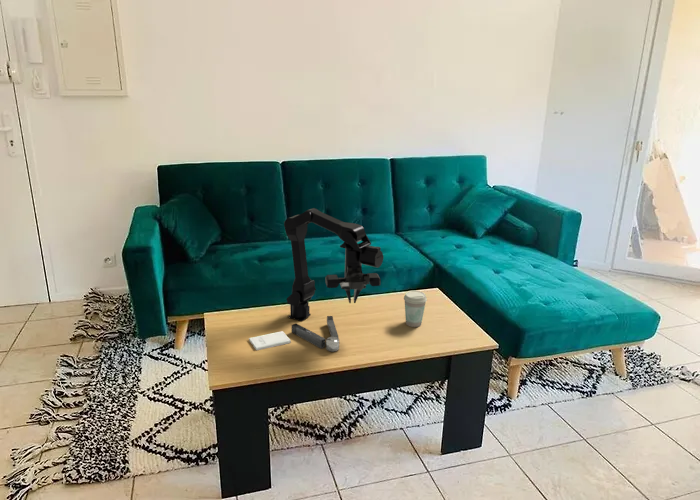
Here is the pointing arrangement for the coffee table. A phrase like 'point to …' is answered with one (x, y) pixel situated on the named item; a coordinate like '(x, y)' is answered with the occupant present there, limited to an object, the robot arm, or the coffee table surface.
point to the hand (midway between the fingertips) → (352, 302)
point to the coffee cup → (414, 307)
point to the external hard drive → (269, 340)
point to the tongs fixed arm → (308, 335)
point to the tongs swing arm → (332, 336)
